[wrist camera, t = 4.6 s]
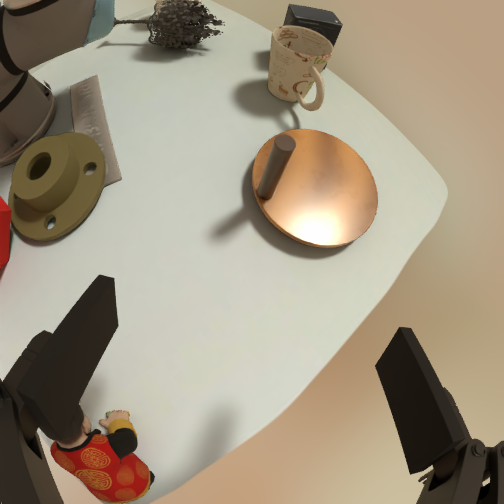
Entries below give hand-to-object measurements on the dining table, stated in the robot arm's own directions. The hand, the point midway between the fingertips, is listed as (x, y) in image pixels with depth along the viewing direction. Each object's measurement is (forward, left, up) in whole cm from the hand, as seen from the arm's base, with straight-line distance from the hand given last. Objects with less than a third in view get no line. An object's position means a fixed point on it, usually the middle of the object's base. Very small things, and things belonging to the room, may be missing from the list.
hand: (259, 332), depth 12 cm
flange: (-19, +15, -14) cm, 28 cm away
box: (+2, +46, -17) cm, 49 cm away
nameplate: (-24, +23, -17) cm, 37 cm away
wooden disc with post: (+6, +18, -16) cm, 25 cm away
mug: (+2, +34, -17) cm, 38 cm away
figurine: (-8, -20, -16) cm, 27 cm away
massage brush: (-23, +41, -8) cm, 48 cm away
